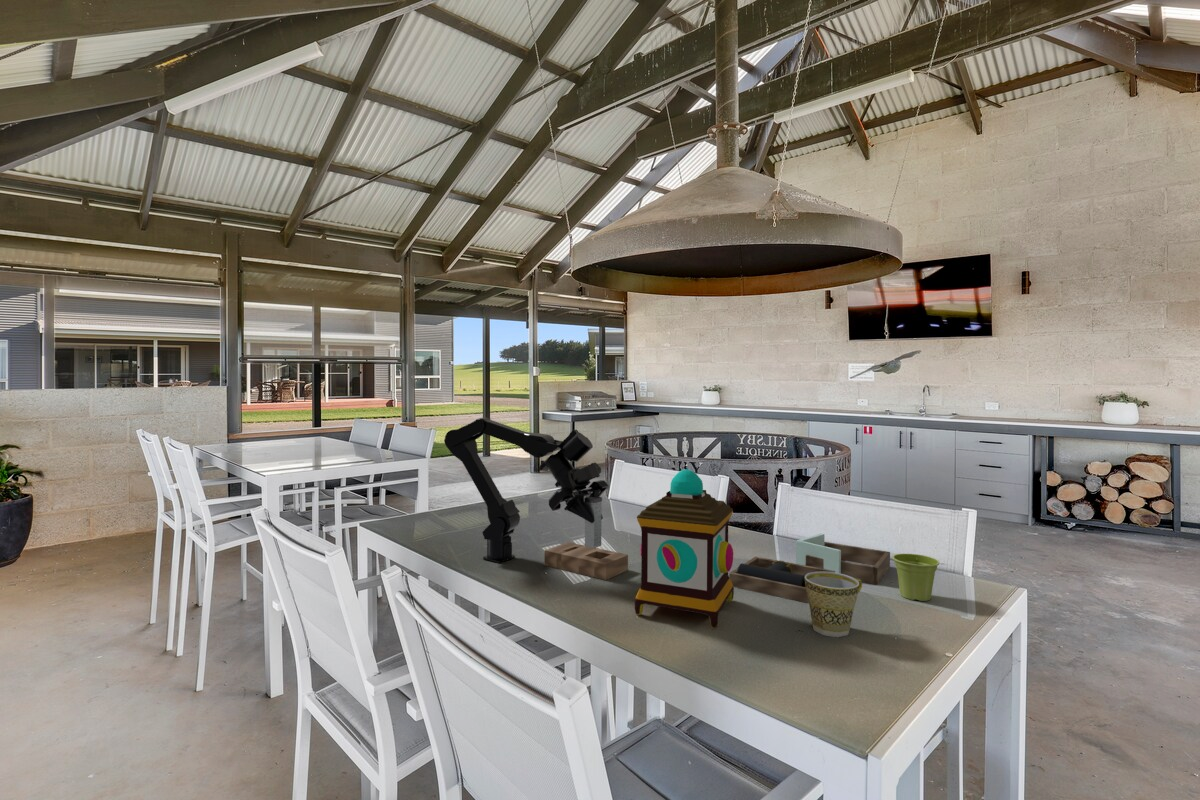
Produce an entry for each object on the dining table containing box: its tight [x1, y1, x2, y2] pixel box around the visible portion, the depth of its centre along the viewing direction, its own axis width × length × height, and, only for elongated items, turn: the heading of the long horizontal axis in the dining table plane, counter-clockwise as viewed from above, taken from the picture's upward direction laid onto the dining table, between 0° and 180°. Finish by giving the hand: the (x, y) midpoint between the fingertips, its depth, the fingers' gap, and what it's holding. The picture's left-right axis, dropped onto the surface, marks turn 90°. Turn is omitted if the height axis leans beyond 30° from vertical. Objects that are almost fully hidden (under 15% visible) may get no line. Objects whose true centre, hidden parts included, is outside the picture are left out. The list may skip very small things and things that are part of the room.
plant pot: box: [892, 553, 940, 602], centre depth 131 cm, size 9×9×9 cm
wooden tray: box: [728, 556, 835, 604], centre depth 139 cm, size 20×17×3 cm
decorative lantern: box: [634, 468, 735, 629], centre depth 124 cm, size 20×20×30 cm
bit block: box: [544, 541, 629, 581], centre depth 151 cm, size 20×10×4 cm, turn 54°
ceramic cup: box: [804, 572, 863, 638], centre depth 113 cm, size 13×10×10 cm
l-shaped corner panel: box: [795, 533, 842, 574], centre depth 151 cm, size 12×12×8 cm
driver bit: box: [584, 496, 603, 548], centre depth 146 cm, size 3×3×12 cm
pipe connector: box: [737, 559, 806, 587], centre depth 138 cm, size 12×5×15 cm
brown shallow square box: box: [806, 541, 891, 586], centre depth 151 cm, size 17×17×4 cm
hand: (597, 520), depth 146 cm, fingers closed on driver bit, 3 cm apart
